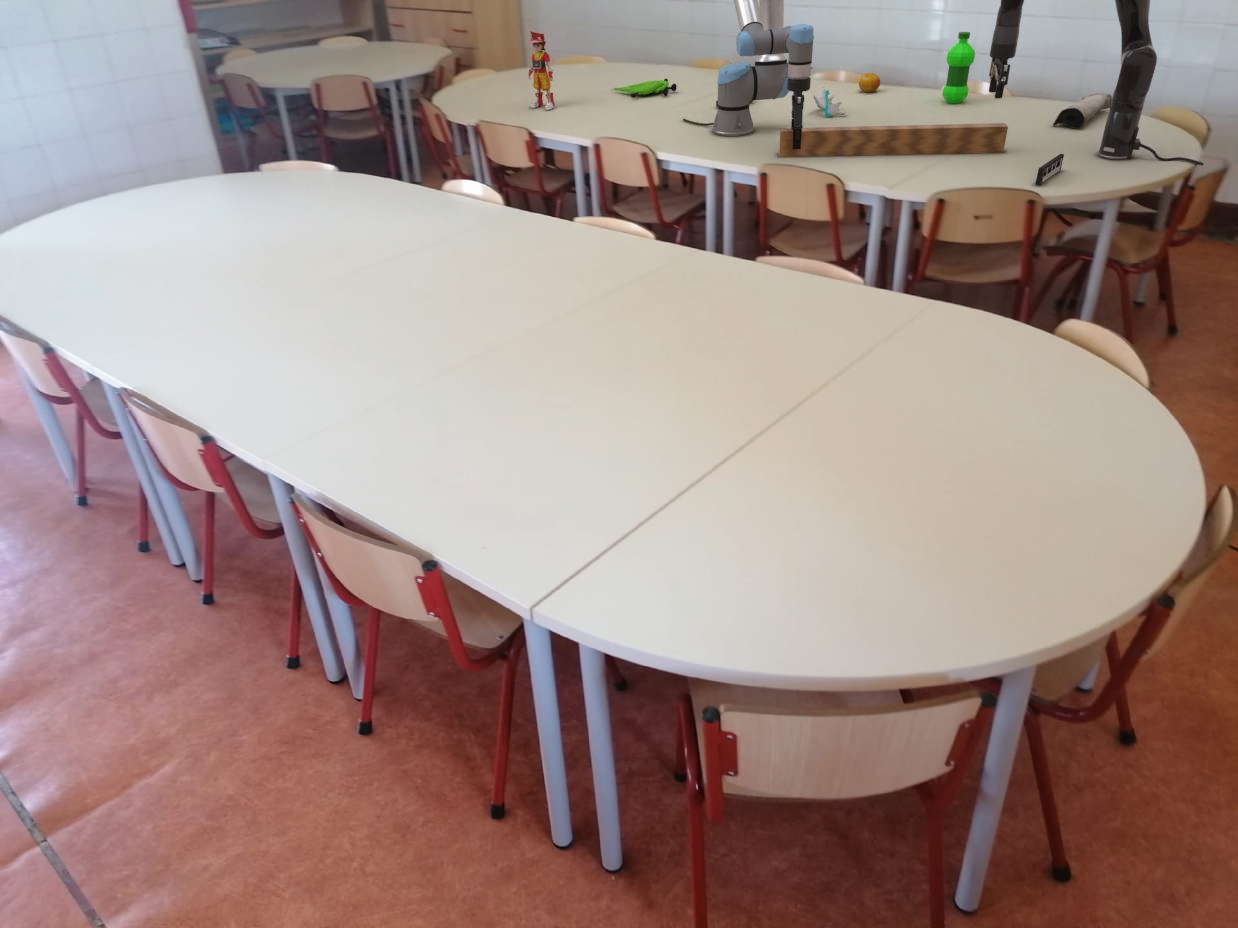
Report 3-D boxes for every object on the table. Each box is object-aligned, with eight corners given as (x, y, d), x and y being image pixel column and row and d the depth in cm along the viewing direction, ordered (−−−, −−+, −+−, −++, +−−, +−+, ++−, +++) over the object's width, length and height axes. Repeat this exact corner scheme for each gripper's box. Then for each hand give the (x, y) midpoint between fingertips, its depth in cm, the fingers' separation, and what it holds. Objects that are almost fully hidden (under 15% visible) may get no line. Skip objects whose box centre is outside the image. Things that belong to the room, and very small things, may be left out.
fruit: (854, 84, 373) (866, 66, 369) (856, 88, 380) (868, 70, 377) (870, 95, 371) (882, 77, 368) (872, 98, 379) (884, 81, 376)
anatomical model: (809, 86, 352) (834, 80, 351) (812, 113, 358) (836, 106, 357) (818, 95, 340) (845, 88, 339) (822, 123, 346) (847, 116, 345)
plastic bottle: (973, 101, 354) (984, 32, 339) (955, 106, 349) (966, 36, 335) (952, 97, 361) (962, 29, 346) (934, 102, 356) (944, 33, 342)
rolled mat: (1079, 98, 337) (1104, 81, 329) (1092, 118, 337) (1118, 102, 329) (1048, 120, 320) (1074, 102, 312) (1063, 141, 320) (1088, 124, 312)
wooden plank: (779, 157, 307) (780, 131, 302) (778, 153, 311) (780, 128, 306) (1003, 152, 298) (1008, 126, 293) (1000, 149, 302) (1005, 123, 297)
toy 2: (686, 85, 398) (631, 84, 414) (685, 72, 395) (629, 72, 411) (651, 104, 381) (596, 103, 397) (650, 92, 378) (594, 91, 394)
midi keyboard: (1039, 185, 269) (1043, 168, 266) (1035, 184, 270) (1038, 168, 267) (1060, 170, 279) (1064, 154, 277) (1056, 169, 280) (1060, 153, 277)
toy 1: (525, 109, 381) (517, 32, 364) (534, 104, 388) (527, 28, 371) (550, 110, 377) (543, 32, 360) (559, 105, 384) (553, 28, 367)
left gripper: (813, 85, 283) (808, 153, 295) (808, 69, 304) (804, 134, 316) (789, 86, 284) (785, 154, 296) (786, 70, 305) (783, 134, 317)
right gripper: (1023, 44, 275) (1012, 100, 284) (1011, 36, 286) (1002, 90, 296) (997, 45, 276) (987, 101, 285) (987, 37, 287) (978, 90, 297)
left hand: (795, 143), depth 306 cm, fingers open, 13 cm apart
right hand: (995, 95), depth 290 cm, fingers open, 8 cm apart
